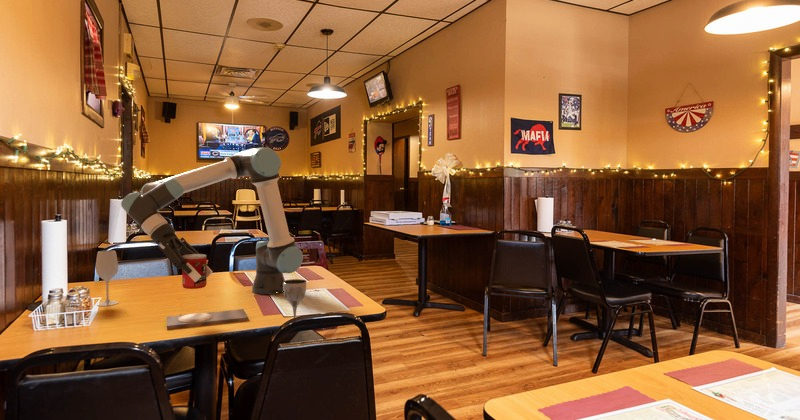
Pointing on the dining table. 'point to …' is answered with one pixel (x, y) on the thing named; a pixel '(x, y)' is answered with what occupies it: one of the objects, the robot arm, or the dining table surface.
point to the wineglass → (107, 271)
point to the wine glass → (294, 292)
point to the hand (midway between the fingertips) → (204, 276)
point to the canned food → (200, 266)
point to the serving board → (206, 318)
